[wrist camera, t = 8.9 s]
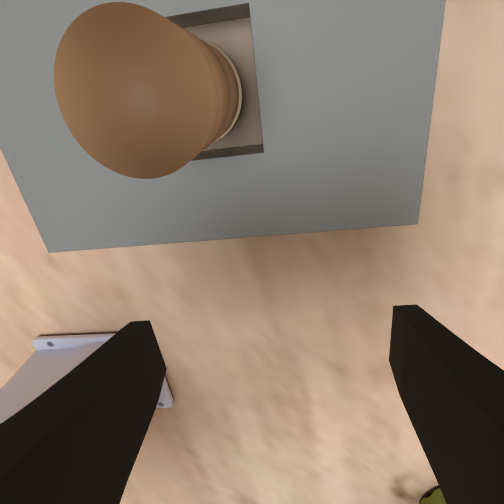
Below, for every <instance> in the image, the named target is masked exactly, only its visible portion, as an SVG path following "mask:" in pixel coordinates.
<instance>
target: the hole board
mask: <svg viewBox="0 0 504 504" xmlns="http://www.w3.org/2000/svg"><path fill="white" fill-rule="evenodd" d="M109 2H127V3H133V4H137V5H140V6H143V7H146V8H149V9H151V10H153V11H155V12H157V13H158V14H160V15H162V16H163V17H165V18H167V19H168V20H170V21H172V22H173V23H175V24H176V25H178V26H180V27H181V28H182V27H188V26H194V25H200V24H206V23H212V22H219V21H225V20H231V19H237V18H243V17H249V16H250V18H251V28H252V38H253V48H254V58H255V68H256V78H257V88H258V98H259V108H260V118H261V128H262V138H263V145H255V146H246V147H237V148H228V149H219V150H210V151H202V152H200V153H199V154H198V155H197V156H196V157H194V158H193V159H192V160H191V161H190V162H188V163H187V164H186V165H185V166H183V167H182V168H181V169H179V170H177V171H176V172H174V173H172V174H169V175H167V176H164V177H159V178H153V179H138V178H132V177H128V176H124V175H121V174H119V173H116V172H114V171H112V170H110V169H108V168H106V167H105V166H103V165H102V164H100V163H99V162H97V161H96V160H95V159H94V158H92V157H91V156H90V155H89V154H88V153H87V152H86V151H85V150H84V149H83V148H82V147H81V146H80V145H79V143H78V142H77V141H76V139H75V138H74V137H73V135H72V133H71V132H70V130H69V128H68V127H67V125H66V123H65V121H64V119H63V117H62V114H61V111H60V109H59V106H58V102H57V98H56V94H55V87H54V63H55V57H56V53H57V48H58V46H59V43H60V41H61V38H62V36H63V35H64V33H65V31H66V29H67V28H68V27H69V25H70V24H71V23H72V22H73V21H74V20H75V19H76V18H77V17H78V16H79V15H80V14H82V13H83V12H85V11H86V10H88V9H90V8H92V7H94V6H97V5H100V4H104V3H109ZM445 2H446V0H0V148H1V150H2V153H3V155H4V157H5V159H6V161H7V163H8V166H9V168H10V170H11V172H12V174H13V176H14V179H15V181H16V183H17V185H18V187H19V190H20V192H21V194H22V196H23V198H24V200H25V203H26V205H27V207H28V209H29V211H30V213H31V216H32V218H33V220H34V222H35V224H36V226H37V229H38V231H39V233H40V235H41V237H42V239H43V242H44V244H45V246H46V248H47V250H48V252H49V253H52V252H65V251H77V250H90V249H103V248H116V247H129V246H142V245H155V244H168V243H181V242H194V241H207V240H220V239H232V238H245V237H258V236H271V235H284V234H297V233H310V232H323V231H336V230H349V229H362V228H375V227H387V226H400V225H413V224H418V218H419V210H420V202H421V194H422V186H423V178H424V170H425V162H426V154H427V146H428V138H429V130H430V122H431V114H432V106H433V98H434V90H435V82H436V74H437V66H438V58H439V50H440V42H441V34H442V26H443V18H444V10H445Z"/></svg>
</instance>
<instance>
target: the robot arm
mask: <svg viewBox="0 0 504 504" xmlns="http://www.w3.org/2000/svg"><path fill="white" fill-rule="evenodd" d="M32 343H33V345H34V347H35V349H36V351H35V352H34V354H33V355H32V356H31V357H30V358H29V359H28V360H27V361H26V362H25V363H24V364H23V365H22V367H21V368H20V369H19V370H18V371H17V372H16V373H15V374H14V375H13V376H12V377H11V378H10V380H9V381H8V382H7V383H6V384H5V385H4V386H3V387H2V388H1V389H0V504H120V501H121V498H122V495H123V492H124V489H125V486H126V483H127V481H128V478H129V475H130V473H131V470H132V468H133V465H134V463H135V460H136V458H137V455H138V452H139V450H140V447H141V445H142V442H143V440H144V437H145V435H146V432H147V430H148V427H149V424H150V422H151V419H152V417H153V414H154V411H155V409H156V408H170V407H172V405H173V398H172V395H171V392H170V390H169V387H168V384H167V381H166V378H165V373H166V366H165V363H164V360H163V357H162V354H161V351H160V349H159V346H158V343H157V340H156V337H155V334H154V331H153V329H152V326H151V323H150V321H133V322H130V323H129V324H127V325H126V326H125V327H123V328H122V329H121V330H120V331H118V332H117V333H111V334H87V335H63V336H40V337H36V338H35V339H34V340H33V342H32ZM389 361H390V365H391V368H392V372H393V375H394V378H395V382H396V385H397V388H398V391H399V394H400V397H401V399H402V402H403V404H404V406H405V408H406V411H407V413H408V415H409V418H410V420H411V422H412V425H413V427H414V429H415V431H416V434H417V436H418V438H419V441H420V443H421V445H422V447H423V450H424V452H425V454H426V456H427V459H428V461H429V463H430V466H431V468H432V470H433V472H434V475H435V477H436V479H437V481H438V484H439V486H440V489H441V491H442V494H443V496H444V499H445V502H446V504H504V370H502V369H501V368H499V367H498V366H496V365H495V364H494V363H492V362H491V361H489V360H488V359H487V358H485V357H484V356H483V355H481V354H480V353H479V352H477V351H476V350H475V349H473V348H472V347H471V346H469V345H468V344H467V343H465V342H464V341H463V340H461V339H460V338H459V337H457V336H456V335H455V334H454V333H452V332H451V331H450V330H448V329H447V328H446V327H445V326H443V325H442V324H441V323H440V322H438V321H437V320H436V319H434V318H433V317H432V316H431V315H429V314H428V313H427V312H426V311H424V310H423V309H422V308H420V307H419V306H418V305H401V306H393V318H392V330H391V342H390V354H389Z"/></svg>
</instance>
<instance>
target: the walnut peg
mask: <svg viewBox="0 0 504 504" xmlns="http://www.w3.org/2000/svg"><path fill="white" fill-rule="evenodd" d="M54 87H55V94H56V98H57V102H58V106H59V109H60V111H61V114H62V117H63V119H64V121H65V123H66V125H67V127H68V128H69V130H70V132H71V133H72V135H73V137H74V138H75V139H76V141H77V142H78V143H79V145H80V146H81V147H82V148H83V149H84V150H85V151H86V152H87V153H88V154H89V155H90V156H91V157H92V158H94V159H95V160H96V161H97V162H99V163H100V164H102V165H103V166H105V167H106V168H108V169H110V170H112V171H114V172H116V173H119V174H121V175H124V176H128V177H132V178H138V179H153V178H159V177H164V176H167V175H169V174H172V173H174V172H176V171H177V170H179V169H181V168H182V167H183V166H185V165H186V164H187V163H188V162H190V161H191V160H192V159H193V158H194V157H196V156H197V155H198V154H199V153H200V152H202V151H203V150H204V149H205V148H207V147H208V146H209V145H210V144H211V143H214V142H216V141H218V140H219V139H221V138H222V137H224V136H225V135H226V134H227V133H228V132H229V131H230V130H231V129H232V127H233V126H234V124H235V122H236V121H237V119H238V116H239V113H240V110H241V105H242V87H241V82H240V78H239V75H238V72H237V70H236V68H235V66H234V64H233V63H232V61H231V60H230V58H229V57H228V56H227V55H226V54H225V52H223V51H222V50H221V49H220V48H219V47H217V46H216V45H214V44H213V43H211V42H209V41H207V40H204V39H201V38H198V37H196V36H195V35H193V34H191V33H190V32H188V31H186V30H185V29H183V28H181V27H180V26H178V25H176V24H175V23H173V22H172V21H170V20H168V19H167V18H165V17H163V16H162V15H160V14H158V13H157V12H155V11H153V10H151V9H149V8H146V7H143V6H140V5H137V4H133V3H127V2H109V3H104V4H100V5H97V6H94V7H92V8H90V9H88V10H86V11H85V12H83V13H82V14H80V15H79V16H78V17H77V18H76V19H75V20H74V21H73V22H72V23H71V24H70V25H69V27H68V28H67V29H66V31H65V33H64V35H63V36H62V38H61V41H60V43H59V46H58V48H57V53H56V57H55V63H54Z"/></svg>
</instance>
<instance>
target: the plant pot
mask: <svg viewBox="0 0 504 504" xmlns="http://www.w3.org/2000/svg"><path fill="white" fill-rule="evenodd" d="M420 504H446V502H445V499H444V496H443V494H442V491H441V489H440V488H439V489H436V490H434V491H433V493H432V494H431V496H429V497H428V498H425V497H424V498H423V499H422V501H421V503H420Z"/></svg>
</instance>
